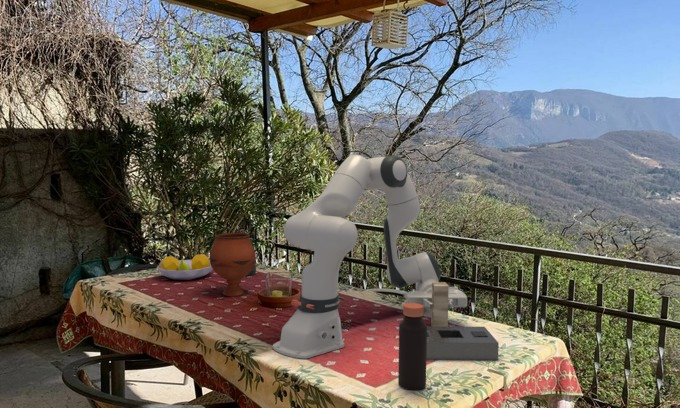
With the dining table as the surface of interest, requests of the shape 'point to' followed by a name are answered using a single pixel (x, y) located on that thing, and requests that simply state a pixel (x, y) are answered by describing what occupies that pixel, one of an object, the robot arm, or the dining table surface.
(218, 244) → the goblet
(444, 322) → the birch peg
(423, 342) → the bottle
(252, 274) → the jar
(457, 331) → the socket block
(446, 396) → the dining table surface
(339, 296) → the pliers
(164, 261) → the fruit bowl
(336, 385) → the dining table surface
